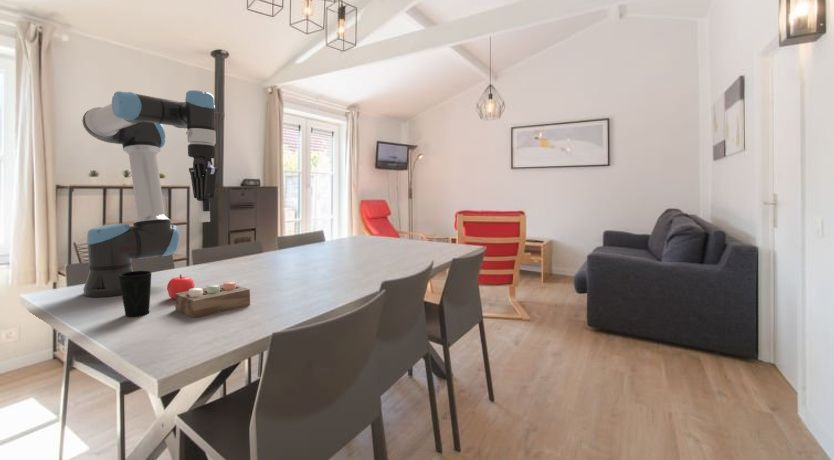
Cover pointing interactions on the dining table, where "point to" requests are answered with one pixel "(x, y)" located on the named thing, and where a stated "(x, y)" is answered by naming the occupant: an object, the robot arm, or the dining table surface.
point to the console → (212, 301)
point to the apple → (179, 285)
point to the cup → (135, 292)
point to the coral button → (229, 286)
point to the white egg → (195, 292)
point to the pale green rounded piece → (213, 289)
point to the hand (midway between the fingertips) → (204, 221)
